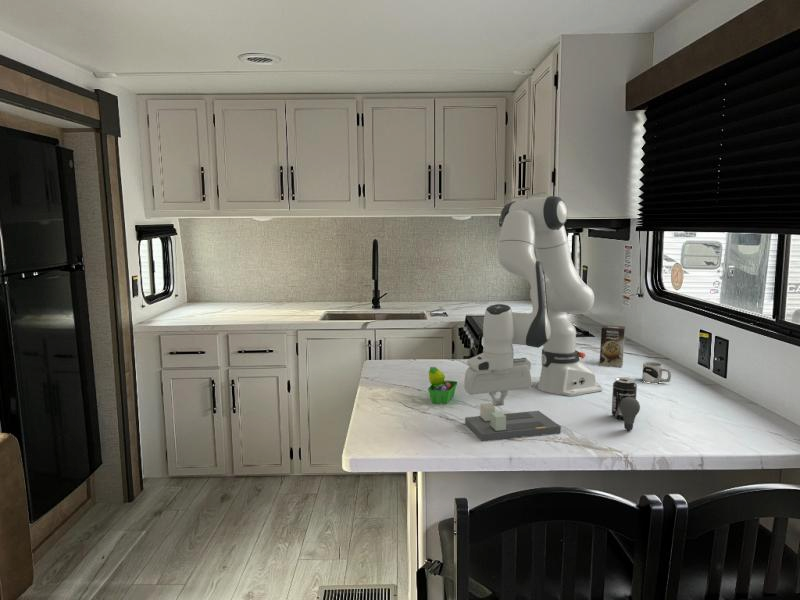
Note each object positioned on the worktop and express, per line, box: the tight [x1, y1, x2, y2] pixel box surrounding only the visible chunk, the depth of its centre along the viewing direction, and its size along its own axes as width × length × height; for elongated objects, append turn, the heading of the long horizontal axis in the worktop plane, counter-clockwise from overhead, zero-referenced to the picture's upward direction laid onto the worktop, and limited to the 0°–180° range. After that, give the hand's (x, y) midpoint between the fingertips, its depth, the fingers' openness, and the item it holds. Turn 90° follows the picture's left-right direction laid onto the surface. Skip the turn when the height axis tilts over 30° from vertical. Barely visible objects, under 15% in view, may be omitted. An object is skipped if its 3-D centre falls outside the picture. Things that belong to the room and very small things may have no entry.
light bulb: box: [619, 397, 641, 432], centre depth 171 cm, size 6×6×10 cm
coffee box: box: [598, 324, 626, 368], centre depth 243 cm, size 9×6×16 cm
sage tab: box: [491, 411, 506, 431], centre depth 169 cm, size 3×4×4 cm
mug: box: [642, 361, 672, 383], centre depth 219 cm, size 10×7×7 cm
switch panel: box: [464, 410, 562, 442], centre depth 174 cm, size 24×14×2 cm, turn 103°
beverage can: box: [611, 376, 638, 421], centre depth 182 cm, size 7×7×12 cm
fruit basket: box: [427, 366, 458, 405], centre depth 201 cm, size 11×9×11 cm
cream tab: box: [479, 402, 496, 421], centre depth 176 cm, size 3×4×4 cm
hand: (498, 405), depth 177 cm, fingers closed
